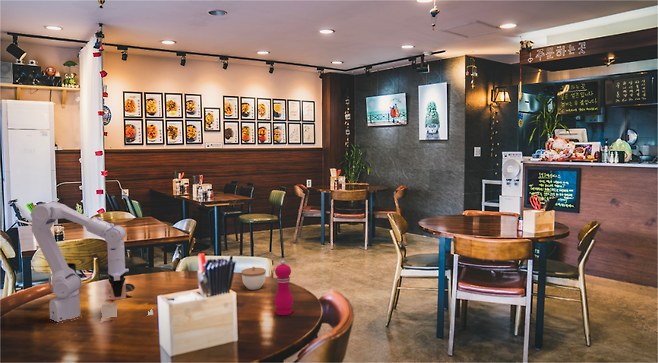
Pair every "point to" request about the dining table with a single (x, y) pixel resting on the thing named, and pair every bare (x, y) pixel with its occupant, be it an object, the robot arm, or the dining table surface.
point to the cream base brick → (109, 310)
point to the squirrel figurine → (128, 288)
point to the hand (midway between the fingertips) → (117, 294)
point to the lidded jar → (253, 277)
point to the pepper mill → (283, 290)
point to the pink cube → (121, 294)
